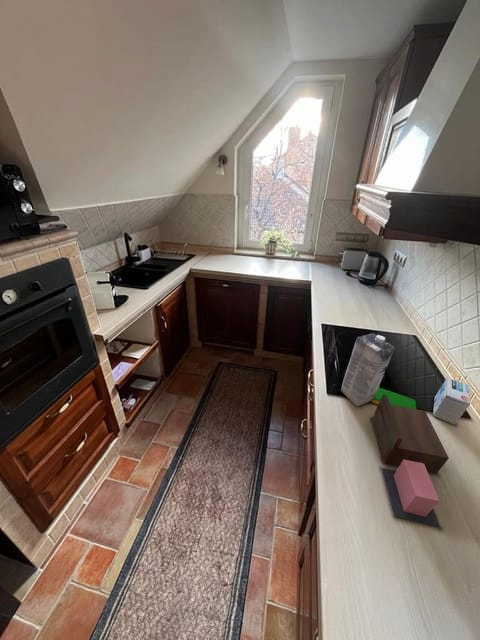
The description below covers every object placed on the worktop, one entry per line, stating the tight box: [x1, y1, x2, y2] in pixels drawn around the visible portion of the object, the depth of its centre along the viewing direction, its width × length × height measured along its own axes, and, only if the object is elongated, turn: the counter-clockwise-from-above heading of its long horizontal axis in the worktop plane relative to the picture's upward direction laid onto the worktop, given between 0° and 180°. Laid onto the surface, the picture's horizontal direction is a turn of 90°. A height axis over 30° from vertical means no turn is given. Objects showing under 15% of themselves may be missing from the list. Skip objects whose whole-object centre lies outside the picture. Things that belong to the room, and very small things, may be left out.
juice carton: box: [340, 332, 396, 407], centre depth 90 cm, size 9×10×27 cm
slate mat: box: [382, 468, 440, 528], centre depth 67 cm, size 10×12×1 cm
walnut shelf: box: [371, 394, 450, 475], centre depth 77 cm, size 14×16×12 cm
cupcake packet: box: [394, 459, 440, 517], centre depth 65 cm, size 5×9×8 cm, turn 168°
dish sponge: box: [370, 386, 417, 409], centre depth 94 cm, size 7×14×2 cm, turn 60°
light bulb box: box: [432, 377, 472, 425], centre depth 89 cm, size 11×7×11 cm, turn 144°
